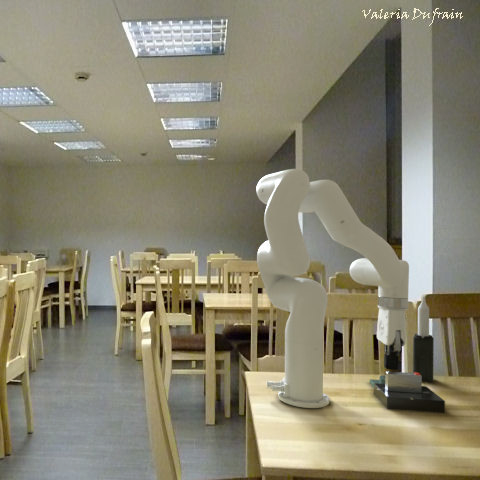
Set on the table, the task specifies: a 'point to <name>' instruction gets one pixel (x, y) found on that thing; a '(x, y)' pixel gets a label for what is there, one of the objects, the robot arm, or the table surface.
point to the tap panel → (410, 400)
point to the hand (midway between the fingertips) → (391, 368)
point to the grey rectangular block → (403, 382)
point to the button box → (381, 380)
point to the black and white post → (423, 345)
